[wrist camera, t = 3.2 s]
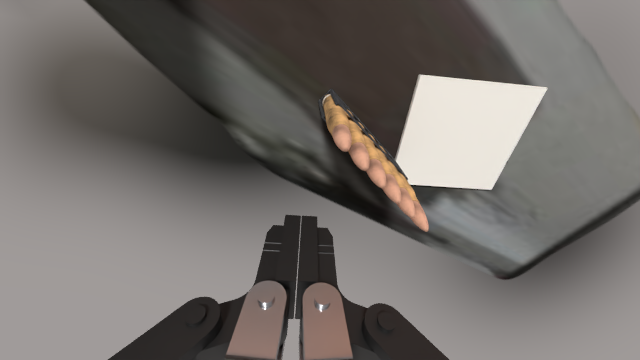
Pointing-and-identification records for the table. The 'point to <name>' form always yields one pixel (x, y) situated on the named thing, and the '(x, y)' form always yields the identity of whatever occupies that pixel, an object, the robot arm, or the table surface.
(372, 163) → the ammunition clip
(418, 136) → the mat
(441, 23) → the table surface
